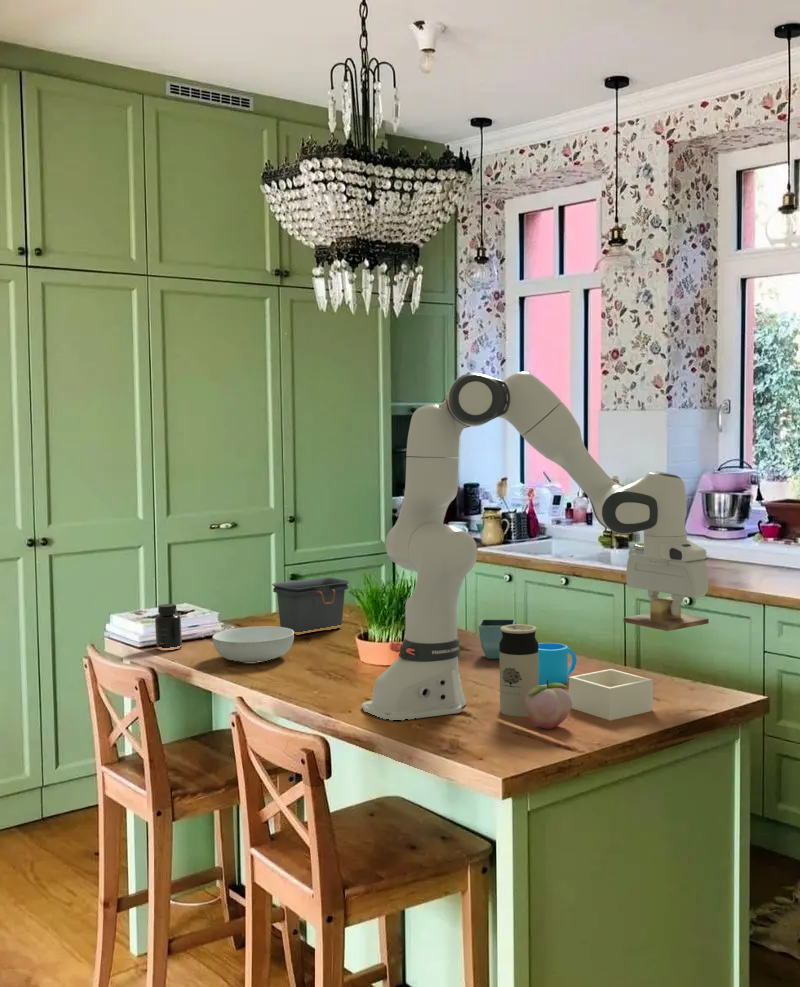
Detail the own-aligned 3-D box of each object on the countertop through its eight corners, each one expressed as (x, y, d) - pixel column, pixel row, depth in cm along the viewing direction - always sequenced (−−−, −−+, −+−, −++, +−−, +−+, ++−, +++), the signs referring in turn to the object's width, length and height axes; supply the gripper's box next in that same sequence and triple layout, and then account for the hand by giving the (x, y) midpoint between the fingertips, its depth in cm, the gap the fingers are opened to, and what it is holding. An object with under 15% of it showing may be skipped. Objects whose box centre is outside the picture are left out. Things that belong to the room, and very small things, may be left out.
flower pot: (478, 660, 271) (478, 625, 270) (482, 653, 280) (481, 618, 279) (513, 661, 269) (513, 626, 269) (516, 653, 278) (515, 619, 277)
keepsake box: (610, 723, 214) (609, 688, 213) (569, 710, 224) (568, 676, 223) (652, 713, 220) (652, 679, 220) (611, 701, 230) (611, 668, 230)
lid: (667, 631, 220) (667, 606, 219) (623, 622, 230) (623, 598, 230) (708, 623, 227) (708, 599, 226) (664, 615, 237) (664, 592, 237)
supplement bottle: (166, 645, 296) (165, 602, 295) (187, 647, 293) (185, 603, 292) (150, 650, 290) (149, 606, 289) (171, 652, 287) (169, 608, 286)
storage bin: (327, 622, 325) (326, 575, 324) (359, 629, 313) (358, 581, 312) (268, 632, 311) (267, 583, 310) (299, 640, 300) (298, 589, 299)
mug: (547, 687, 243) (547, 652, 242) (525, 680, 250) (524, 645, 249) (587, 679, 249) (587, 645, 249) (564, 673, 256) (564, 639, 256)
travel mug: (517, 706, 227) (516, 622, 226) (546, 713, 222) (546, 627, 220) (492, 714, 222) (491, 627, 221) (521, 721, 216) (520, 633, 215)
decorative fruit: (548, 721, 216) (548, 672, 216) (579, 730, 210) (578, 679, 209) (514, 729, 211) (514, 679, 210) (544, 739, 204) (544, 687, 203)
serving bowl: (268, 647, 291) (267, 622, 291) (310, 660, 275) (309, 633, 274) (198, 659, 279) (198, 633, 278) (238, 673, 262) (237, 645, 262)
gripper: (619, 545, 234) (619, 608, 235) (691, 554, 217) (691, 622, 218) (639, 542, 238) (640, 604, 239) (712, 551, 221) (713, 618, 222)
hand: (665, 613), depth 228 cm, fingers closed on lid, 3 cm apart
